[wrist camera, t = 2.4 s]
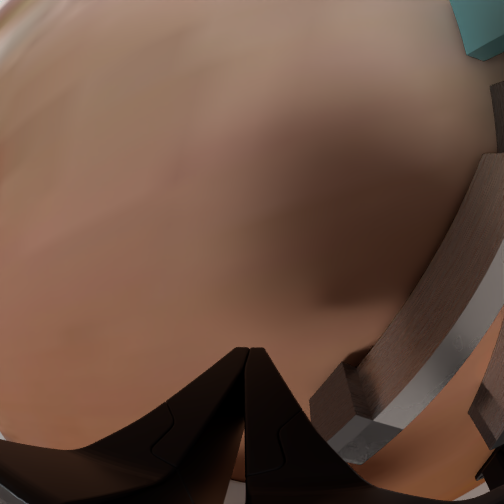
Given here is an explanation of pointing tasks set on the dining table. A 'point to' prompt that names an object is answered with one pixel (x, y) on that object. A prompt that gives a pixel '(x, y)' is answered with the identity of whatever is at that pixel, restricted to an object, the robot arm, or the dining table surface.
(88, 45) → the dining table surface
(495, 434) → the tong frame
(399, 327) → the tong arm
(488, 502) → the robot arm
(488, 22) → the teal notched block
